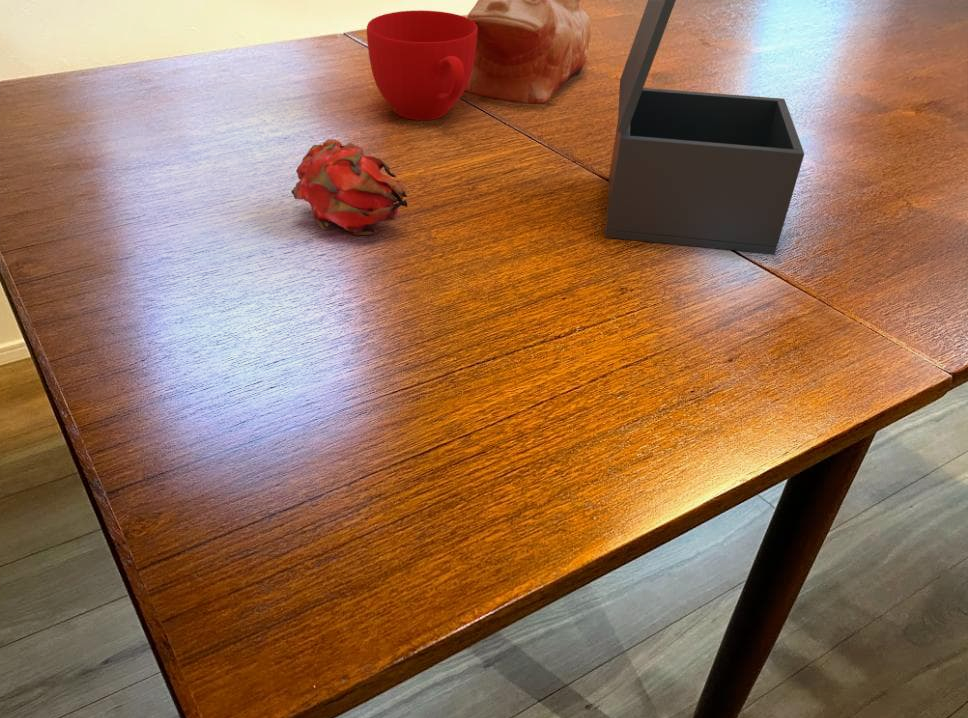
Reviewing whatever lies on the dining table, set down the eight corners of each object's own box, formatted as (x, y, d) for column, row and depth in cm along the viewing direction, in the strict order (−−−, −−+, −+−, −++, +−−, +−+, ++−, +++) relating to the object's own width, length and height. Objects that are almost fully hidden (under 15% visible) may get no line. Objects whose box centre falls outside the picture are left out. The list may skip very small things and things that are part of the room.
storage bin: (759, 191, 92) (784, 98, 86) (774, 254, 82) (804, 153, 76) (608, 178, 94) (622, 85, 88) (605, 237, 84) (620, 137, 78)
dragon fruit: (300, 217, 89) (400, 263, 86) (258, 199, 81) (366, 249, 78) (333, 138, 88) (436, 181, 85) (294, 112, 80) (405, 159, 77)
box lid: (692, -100, 77) (631, -117, 77) (701, -69, 67) (630, -88, 67) (627, 82, 88) (573, 67, 88) (625, 134, 77) (564, 116, 77)
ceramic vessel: (435, 101, 111) (438, -28, 102) (509, 44, 130) (518, -69, 120) (539, 120, 107) (552, -13, 97) (600, 58, 125) (616, -58, 116)
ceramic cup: (405, 150, 99) (405, 59, 93) (353, 99, 111) (350, 16, 105) (507, 133, 103) (513, 45, 97) (446, 86, 115) (449, 5, 109)
